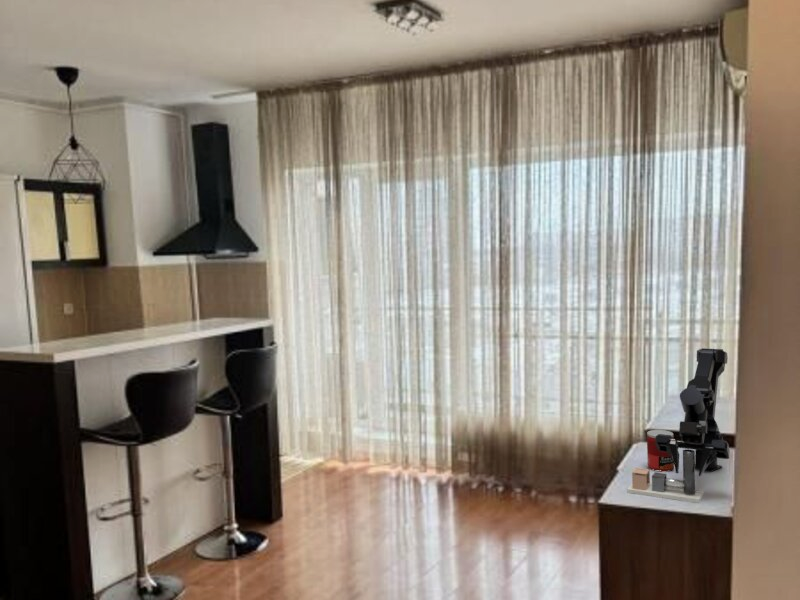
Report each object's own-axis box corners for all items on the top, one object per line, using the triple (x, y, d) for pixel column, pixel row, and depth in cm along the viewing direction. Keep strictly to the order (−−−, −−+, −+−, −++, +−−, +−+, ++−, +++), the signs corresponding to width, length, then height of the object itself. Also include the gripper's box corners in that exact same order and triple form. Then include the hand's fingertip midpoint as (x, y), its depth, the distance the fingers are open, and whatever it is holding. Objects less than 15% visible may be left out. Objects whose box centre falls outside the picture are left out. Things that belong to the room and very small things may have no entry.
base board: (703, 495, 195) (703, 491, 195) (699, 502, 189) (699, 499, 189) (633, 485, 205) (632, 481, 205) (627, 492, 200) (627, 489, 200)
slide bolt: (696, 491, 194) (695, 450, 193) (694, 494, 192) (693, 453, 191) (654, 485, 200) (653, 445, 199) (652, 488, 197) (651, 448, 196)
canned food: (662, 473, 214) (661, 438, 213) (642, 466, 221) (641, 432, 220) (680, 468, 217) (679, 433, 216) (659, 462, 224) (658, 428, 223)
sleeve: (666, 488, 198) (666, 473, 198) (664, 492, 196) (663, 477, 195) (654, 486, 200) (654, 472, 200) (652, 490, 197) (651, 476, 197)
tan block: (649, 485, 201) (649, 469, 201) (646, 490, 198) (646, 474, 197) (636, 483, 203) (635, 467, 203) (632, 488, 200) (632, 472, 199)
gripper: (655, 406, 200) (647, 455, 192) (727, 411, 190) (722, 463, 182) (662, 426, 207) (654, 474, 199) (731, 432, 197) (726, 483, 189)
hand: (688, 473), depth 192 cm, fingers open, 6 cm apart
